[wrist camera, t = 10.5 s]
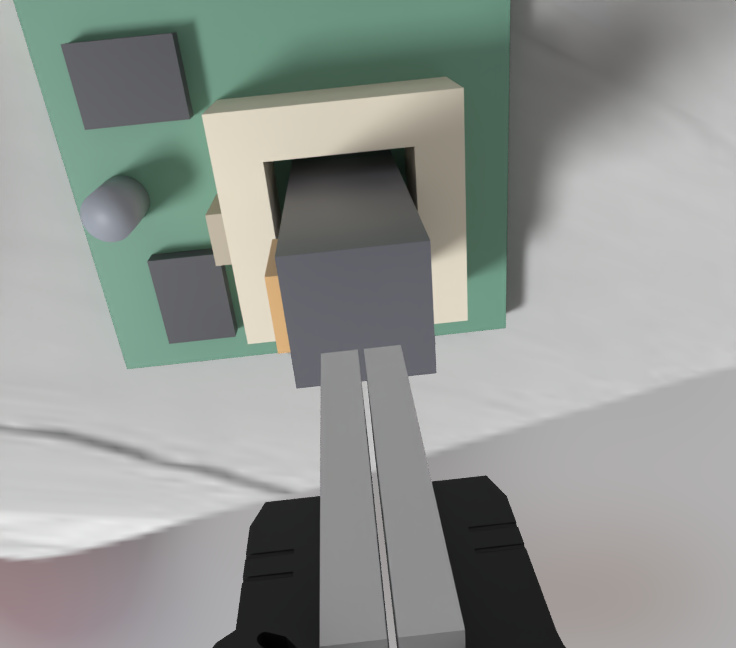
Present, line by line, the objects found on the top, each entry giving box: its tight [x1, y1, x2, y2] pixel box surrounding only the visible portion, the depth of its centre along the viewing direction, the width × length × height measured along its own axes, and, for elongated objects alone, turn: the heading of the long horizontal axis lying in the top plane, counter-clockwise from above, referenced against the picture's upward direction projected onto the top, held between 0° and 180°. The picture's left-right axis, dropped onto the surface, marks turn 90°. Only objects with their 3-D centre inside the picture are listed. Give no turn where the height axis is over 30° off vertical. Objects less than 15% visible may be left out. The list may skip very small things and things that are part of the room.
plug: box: [264, 149, 436, 388], centre depth 22 cm, size 4×4×11 cm
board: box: [13, 0, 510, 369], centre depth 25 cm, size 18×16×5 cm
